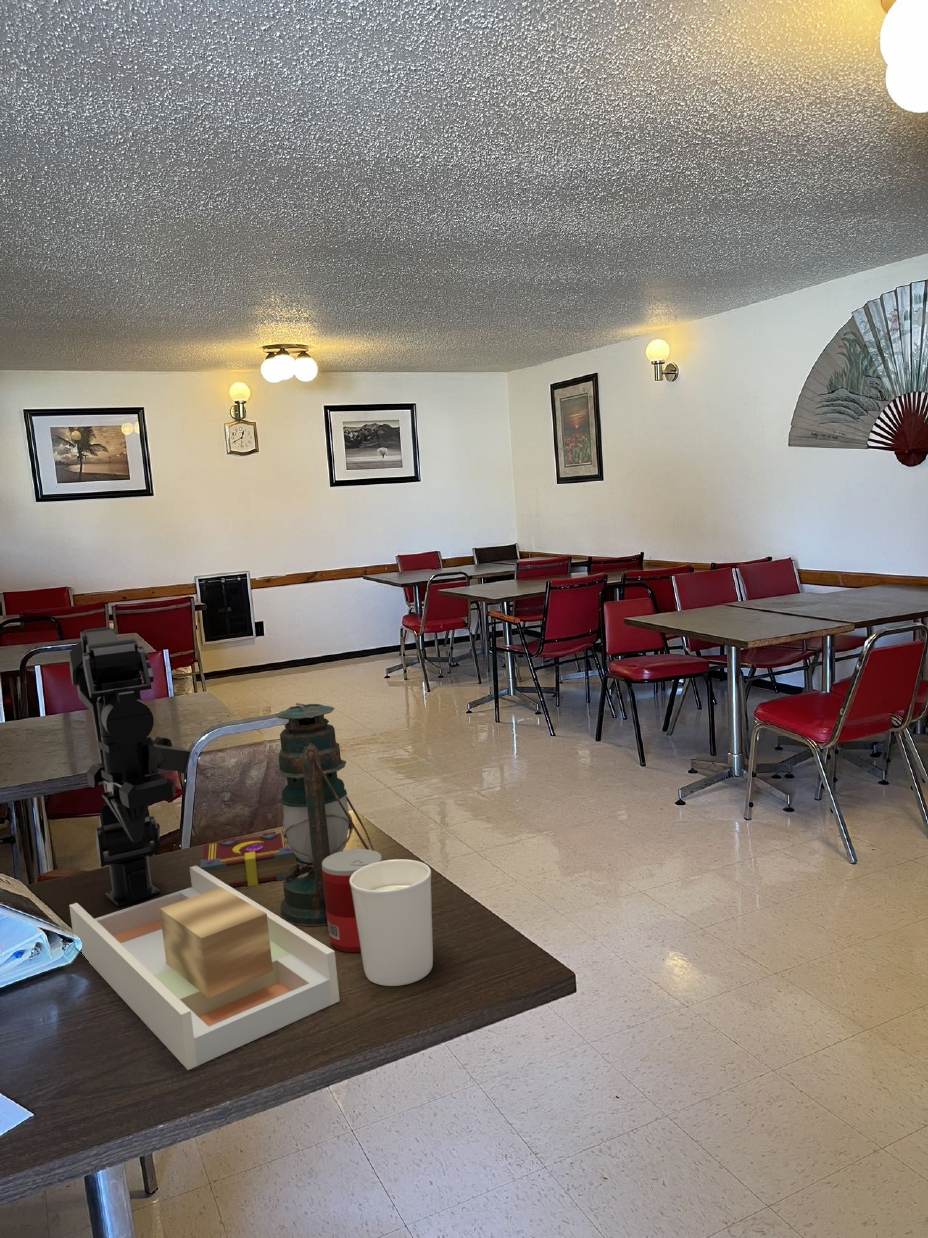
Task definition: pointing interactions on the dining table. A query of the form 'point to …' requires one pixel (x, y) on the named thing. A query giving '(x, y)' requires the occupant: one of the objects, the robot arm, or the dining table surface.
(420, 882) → the candle holder
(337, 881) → the canned food
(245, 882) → the decorative book
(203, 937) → the wooden block
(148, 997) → the tray
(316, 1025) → the dining table surface
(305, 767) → the lantern
